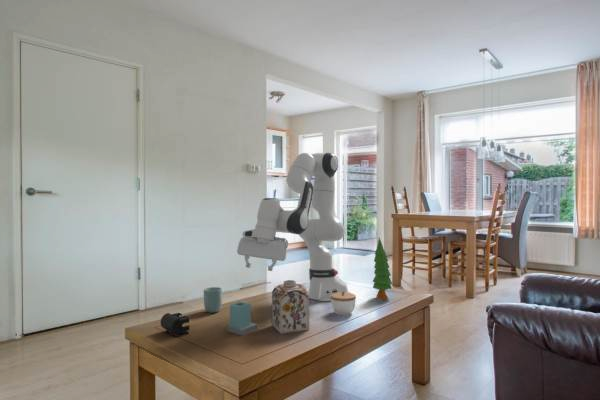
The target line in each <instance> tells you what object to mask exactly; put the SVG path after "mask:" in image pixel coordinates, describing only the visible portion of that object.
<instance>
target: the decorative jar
mask: <svg viewBox="0 0 600 400" xmlns="http://www.w3.org/2000/svg"><path fill="white" fill-rule="evenodd" d="M271 318H272V319H271V320H272V326H273V327H274V328H275V329H276V331H278V333H279V334H281V335H283V334H292V333H299V332H305V331H307V332H308V331H310V298H309V295H308V291H307V288H306V287H305V286H304V285H303V284H300V283H297V282H296V280H291V279H286V280H284V281H283V284H282V283H281V284H278V285H276V286H274V287H273V289H272V291H271Z"/></svg>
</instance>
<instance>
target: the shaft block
mask: <svg viewBox="0 0 600 400" xmlns="http://www.w3.org/2000/svg"><path fill="white" fill-rule="evenodd" d="M226 329H227V330H226V331H227V332H228V333H232V334H236V335H239V336H245V335H247V334H250V333H253V332H255V331H257V330H258V324H257V323H254V322H251V325H248V326H246V327H243V328H237V327H233V326H230V324H229V325H227V326H226Z"/></svg>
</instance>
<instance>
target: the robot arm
mask: <svg viewBox="0 0 600 400" xmlns="http://www.w3.org/2000/svg"><path fill="white" fill-rule="evenodd" d="M338 168H339V160H338V158H337V156H336V155H335V153H332V152H316V153H307V152H302V153H301V152H300V154H298V155H297V156H296V158H294V161H293V162H292V164H291V166H290V168H289V170H288V172H287V175H286V184H287V186H288V188H290V190H291V191H293V192H295V193H297V194H299V198H298V202H297V207H296V208H295V209H293V210H290V209H289V210H284V208H282V206H281V204H280V203H281V201H280V199H279V198H273V197H264V198H262V200H261V201H260V204H259V206H258V211H257V216H256V218H257V220H256V221H257V222H256V224H255V227H254V228H253V229H249V230H248V229H247V230H243V232H242V236H243V237H241V238H240V240H239V242H238V245H237V250H236V252H237V255H240V256H244V260H245V268H248V269H249V268H250V269H251V266H252V265H251V264H252V263H250V261H249V260H250V257H252V258H257V259H268V260H271V265H268V267H267V271H270V272H273V269H274V267H275V266H276V265H277V262H278V261H280V262H285V260H287V259H286V258H287V249H288V246H289V241H288V240H287V239H286V238H285V237H277V236H276V235H277V233H283V234H287V233H288V234H294V235H298V236H299V237H300V238H301V239H302V240H303V241H304V243H305V245H306V247H307V249H308V253H309V268H308V279H309V285H308V291H307V292H308V295H309V300H310V299H311V300H316V301H319V302H331V295H332V294H334V293H342V291H344V293H351V292H350V291H348V290H349V289H348V286H347V283H346V282H345V281H343V280H342V279H341V278H339V277H338V274H339V272H338V270H337V269H335V268H333V254H332V252H331V250H330V249H329V248H327V247H326V246H325V243H324V242H337V241H340V240H342V239H343V238H344V235H345V230H346V229H345V226H344V224H343V222H342V221H341V220H340V219H339V218H338V216H337V214H336V211H335V190H336V188H335V185H336V184H335V183H336V182H335V174H336V173H337V171H338ZM313 177H314V181H313V183H312V182H311V180H312V178H313ZM311 207H312V208H313V210H315V211H316V212H317V213H318V217H319V218H309V214H310V209H311Z"/></svg>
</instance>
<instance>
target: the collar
mask: <svg viewBox="0 0 600 400" xmlns="http://www.w3.org/2000/svg"><path fill="white" fill-rule="evenodd" d="M251 311H252V309H251V303H249V302H244V301H238V302H234V303H231V304H229V317H230V318H229V321H230V322H229V325H230V326H233V327H237V328H243V327H246V326H248V325H251V323H252V322H251V320H252V317H251Z"/></svg>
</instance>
